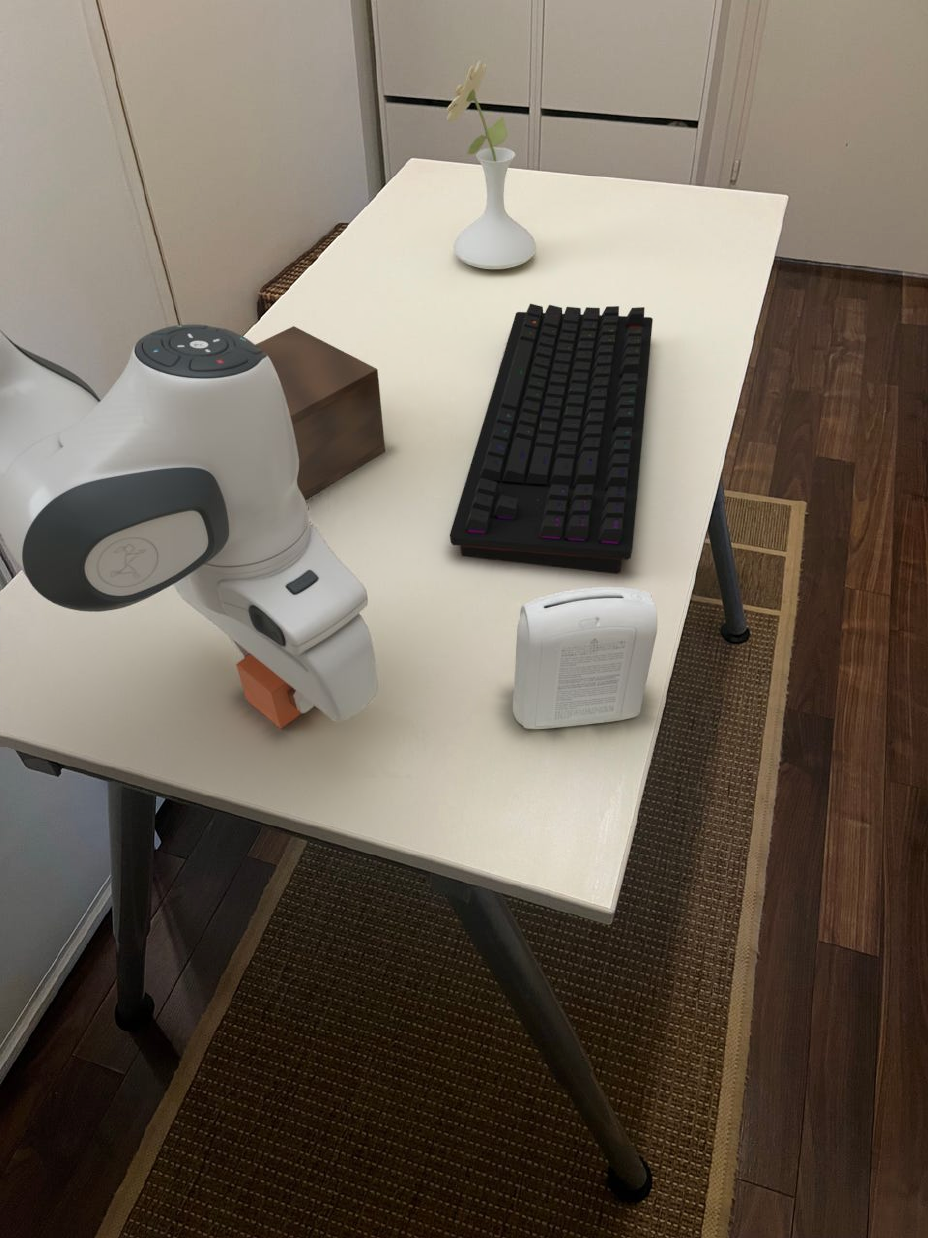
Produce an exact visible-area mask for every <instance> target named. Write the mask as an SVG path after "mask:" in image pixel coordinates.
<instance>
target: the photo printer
mask: <svg viewBox="0 0 928 1238" xmlns="http://www.w3.org/2000/svg"><path fill="white" fill-rule="evenodd" d="M657 634H658V612H657V606H656V603H655V602H654V600H653V597H652V594H651V592H649V591H646V590H642V589H636V588H631V587H621V586H596V587H585V588H584V587H583V588H575V589H569V590H564V591H559V592H555V593H554V592H553V593H551V594H547V595H544V596H541V597H538V598H535V599H532V600H530V601H528V602H525V603H523V604H522V605H521V608H520V613H519V620H518V622H517V628H516V645H515V661H514V662H515V663H514V679H513V697H512V699H513V700H512V713H513V716H514V718H515V721H517V722H518V724H520V725H521V726H523V728H525V729H529V730H542V729H554V728H555V729H557V728H564V727H575V726H585V725H593V724H603V723H610V722H618V721H624V720H628V719H629V720H630V719H634V718H636V717H638V716H639V715H640V713H641V709H642V705H643V700H644V695H645V690H646V686H647V682H648V676H649V671H650V667H651V666H650V665H651V661H652V657H653V653H654V648H655V644H656V639H657Z"/></svg>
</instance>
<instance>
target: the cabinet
mask: <svg viewBox="0 0 928 1238" xmlns="http://www.w3.org/2000/svg"><path fill="white" fill-rule="evenodd" d="M255 345H256V346H258V347H259V348H260V349H261V350H263V351H264V352H265V353H266V354H267V356H268V357H269V358H270V360H271V362H272V364H273V366H274V368H275V370H276V372H277V375H278V377H279V380H280V383H281V386H282V388H283V392H284V395H285V398H286V401H287V405H288V409H289V413H290V417H291V421H292V425H293V430H294V434H295V439H296V445H297V450H298V456H299V471H298V476H297V485H298V488H299V490H300V491H301V493H302V495H303V497H304V499H305V501H307V500H308V499H309V498H311V497H313V496H315V495H316V494H318V493H320V492H321V491H323V490H324V489H326V488H327V487H330V486H331V485H332V484H335V483H336V482H338V481H339V480H341V479H343V478H344V477H345V476H347V475H349V474H351V473H353V472H354V471H355V470H357V469H359V468H361V467H362V466H364V465H365V464H367V463H368V462H371V461H372V460H374V459H375V458H377V457H378V456H380V455H382V454H384V453H385V452H386V448H385V447H386V446H385V434H384V423H383V413H382V403H381V402H382V401H381V391H380V390H381V389H380V380H379V371H378V369H377V368H376V367H375V366H373V365H370V364H368V363H367V362H365V361H362V360H361V359H359V358H357V357H355V356H353V355H351V354H350V353H348V352H345V351H343V350H341V349H339V348H338V347H336V346H334V345H332V344H329V343H327V342H326V341H324V340H322V339H320V338H318V337H316V336H314V335H312V334H310V333H308V332H306V331H304V330H302V329H300V328H298V327H297V326H295V325H292V326H290V327H289V328H287V329H284V330H283V331H281V332H278V333H277V334H275V335H272V336H270V337H268V338H266V339H264V340H262V341H260V342H258V343H255Z"/></svg>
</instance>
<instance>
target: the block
mask: <svg viewBox="0 0 928 1238" xmlns="http://www.w3.org/2000/svg"><path fill="white" fill-rule="evenodd" d="M235 665H236V669H237V672H238V677H239V679H240V683H241V686H242V690H243V693H244V697H245V700H246V701H247V702H248V703H249V704H251V705H252V706H253V707H254V708H255V709H256V710H257V711H258V712H260V713H261V714H262V715H263V716H265V717H266V719H268V720H269V721H271V722H272V723H273V724H274V725H275V726H276V727H278V728H279V730H281V729H283V728H285V727H286V726H287V725H288V724H290V723H291V722H292V721H294V720H295V719H296V718H298V717H299V716H300V715H302V713H301V712H300V711H298V710H297V709H296V708H295V707H294V706H293V705H292V704H290V702H289V698H288V694H287V691H288V690H290V689H291V688H292V687H291V686H290V685H289V684H287V683H286V682H285V681H284V680H282V679H281V678H280V677H279V676H277V675H276V674H275V673H274V672H272V671H271V670H270V669H269V668H267V667H266V666H265V665H264V664H263V663H261V662H260V661H259V660H258V659H256V658H255V657H254V656H253V655H251V654H250V655H248V656H247V657H245V658H244V659H240V660H239V661H238V662H236V664H235Z"/></svg>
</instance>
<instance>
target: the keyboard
mask: <svg viewBox="0 0 928 1238" xmlns="http://www.w3.org/2000/svg"><path fill="white" fill-rule="evenodd" d="M645 309H646V307H644V306H642V307H641V306H640V307H638V306H637V307H631V309H630V311H629V312H628V314H627V316H626V315H620V306H619V305H615V306H610V305H609V306H606V307H605V309H604V310H603V312H602V314H601V308H600V307H590V306H589V307H585V309H584V311H583V314H582V308H581V307H576V306H575V307H574V306H566V308H565V311H564V313H563V307H560V306H556V305H553V304H548V306H547V308H546V311H545V312H544V307H543V306H542V305H538V304H535V303H534V304H533V303H529V305H528V307H527V310H526V311H517V312H515V314H514V317H513V318H514V319H513V322H512V326H511V328H510V332H509V335H508V339H507V342H506V345H505V348H504V352H503V356H502V359H501V362H500V365H499V369H498V372H497V376H496V378H495V382H494V385H493V388H492V392H491V396H490V399H489V402H488V404H487V405H488V406H487V409H486V412H485V416H484V419H483V422H482V426H481V430H480V432H479V435H478V438H477V443H476V445H475V448H474V452H473V455H472V459H471V461H470V462H471V463H470V466H469V469H468V473H467V475H466V480H465V482H464V486H463V489H462V493H461V496H460V498H459V502H458V506H457V509H456V514H455V516H454V519H453V522H452V526H451V528H450V533H449V539H450V543H451V545H452V546H459V547H460V555H461V556H462V557H468V558H477V559H487V560H495V561H502V562H503V561H504V562H512V563H513V562H514V563H522V564H528V565H529V564H531V565H537V566H538V565H539V566H548V567H556V568H566V569H567V568H568V569H573V570H574V569H575V570H582V571H590V572H591V571H592V572H601V573H610V574H619V573H621V569H622V563H623V560H624V561H628V560H630V559H632V553H633V546H634V536H635V525H636V514H637V501H638V491H639V480H640V479H639V478H640V467H641V457H642V445H643V434H644V422H645V411H646V399H647V388H648V380H649V379H648V377H649V366H650V355H651V345H652V344H651V343H652V333H653V321H654V319H653V317H650V316H645Z"/></svg>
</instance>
